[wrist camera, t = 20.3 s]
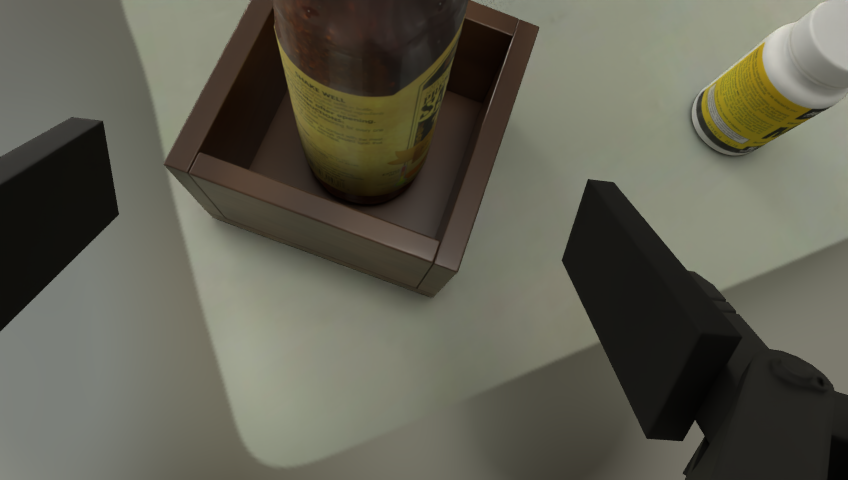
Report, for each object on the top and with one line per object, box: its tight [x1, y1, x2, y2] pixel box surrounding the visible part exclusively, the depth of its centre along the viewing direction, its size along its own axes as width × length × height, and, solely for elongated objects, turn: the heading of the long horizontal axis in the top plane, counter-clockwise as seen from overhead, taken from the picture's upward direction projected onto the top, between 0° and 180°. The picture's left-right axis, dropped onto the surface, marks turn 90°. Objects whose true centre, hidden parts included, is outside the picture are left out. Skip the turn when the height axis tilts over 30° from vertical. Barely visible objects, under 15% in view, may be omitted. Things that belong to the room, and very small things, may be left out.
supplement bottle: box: [692, 0, 848, 155], centre depth 28 cm, size 5×5×8 cm
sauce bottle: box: [272, 0, 469, 204], centre depth 18 cm, size 7×6×20 cm
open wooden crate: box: [164, 0, 539, 297], centre depth 25 cm, size 12×12×7 cm
